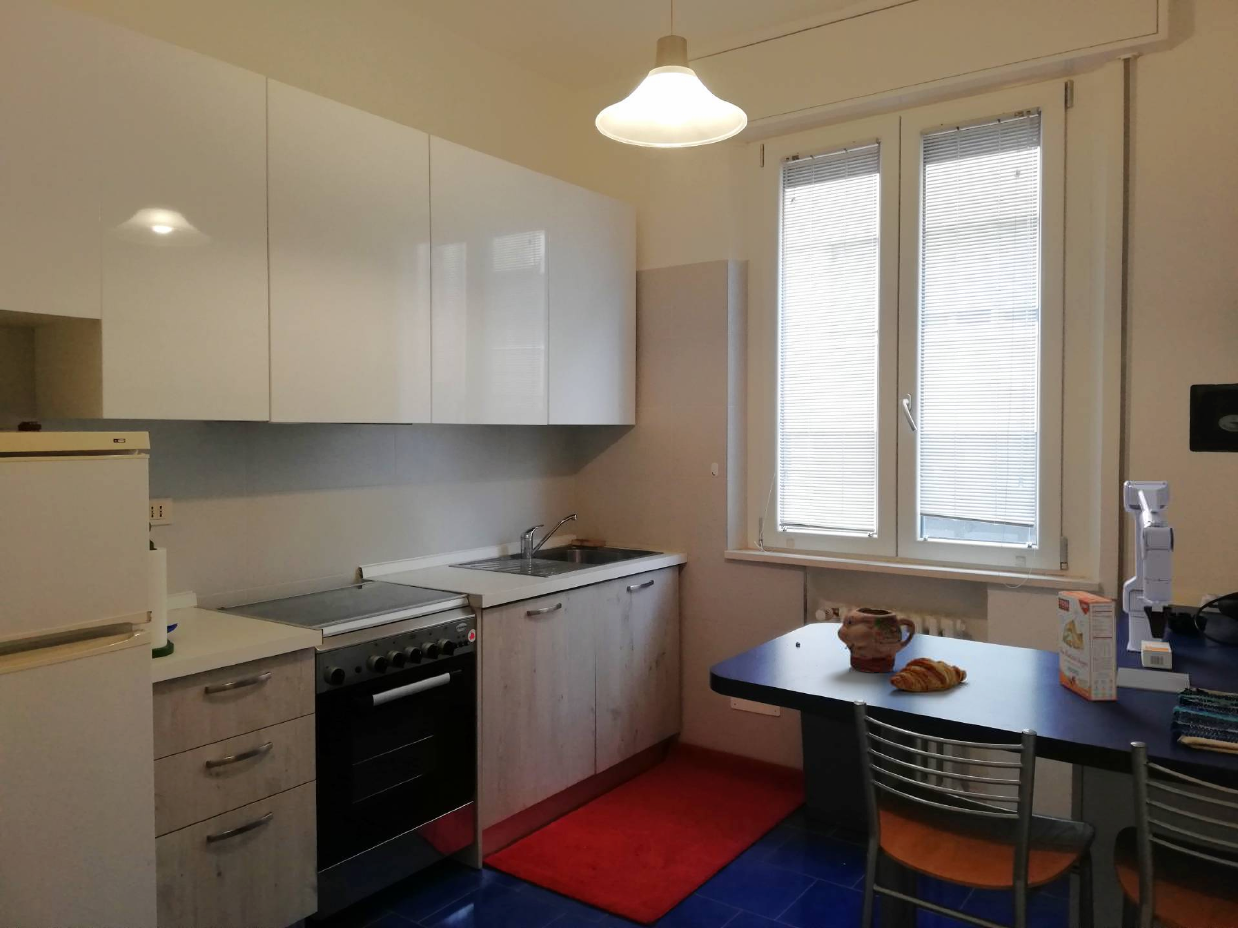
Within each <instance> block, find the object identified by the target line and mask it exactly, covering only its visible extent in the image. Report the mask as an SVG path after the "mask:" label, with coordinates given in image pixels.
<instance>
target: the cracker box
mask: <svg viewBox="0 0 1238 928" xmlns="http://www.w3.org/2000/svg"><path fill="white" fill-rule="evenodd" d="M1116 603H1117V602H1116V601H1114V600H1110V599H1107V598H1104V597H1101V596H1098V595H1095V594H1094V593H1093V594H1092V593H1090V592H1087V591H1085V590H1084V591H1083V590H1061V591H1058V643H1059V646H1058V649H1059V650H1058V652H1059V656H1058V657H1059V683H1060V685H1063V686H1064V687H1066V688H1068V689H1069V690H1071V691H1073V692H1074V693H1076V694H1078V695H1080V696H1081V697H1083V698H1085V699H1086V700H1088V701H1090V702H1100V701H1101V702H1103V701H1106V702H1107V701H1117V699H1118V697H1117V692H1118V690H1117V688H1118V687H1116V678H1117V623H1116V622H1117V621H1116V619H1117V618H1116V616H1117V610H1116V608H1117V606H1116Z"/></svg>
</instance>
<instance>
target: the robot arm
mask: <svg viewBox="0 0 1238 928" xmlns="http://www.w3.org/2000/svg"><path fill="white" fill-rule="evenodd" d="M1170 490H1171V489H1170V484H1169V482H1168V481H1167V480H1162V481H1157V480H1156V481H1152V480H1151V481H1149V480H1148V481H1144V480H1143V481H1141V480H1140V481H1134V480H1133V481H1130V480H1126V481H1125V482H1124V483H1123V508H1124V511H1125V512H1127V513H1129V514H1132V517H1133V520H1134V540H1135V541H1134V548H1135V549H1134V553H1135V554H1134V555H1135V557H1134V562H1135V563H1134V566H1135V569H1134V570H1135V571H1134V572H1135V575H1134V576H1133V577H1132V578H1130V579H1128V580H1126V581H1125V582H1124V584H1123V590H1122V609H1123V611H1124V612H1125V613H1126V614H1128V633H1129V634H1128V642H1127V647H1126V650H1127V651H1128V650H1129V651H1130V652H1141V643H1142V640H1144V641H1156V642H1163V641H1162V639H1163V640H1164V637H1165V632H1166V629H1167V623H1168V619H1169V618H1170V615H1171V613H1172V612H1173V607H1172V606H1169V605H1170V604H1173V603H1174V599H1173V553H1174V550H1175V547H1176V535H1175V531H1174V527H1173V526H1171V525H1169V520H1168V515H1167V514H1166V510H1167V508H1168V506H1169V504H1170V499H1171V497H1170V496H1171V491H1170ZM1129 651H1128V652H1129Z"/></svg>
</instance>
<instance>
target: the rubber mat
mask: <svg viewBox="0 0 1238 928" xmlns="http://www.w3.org/2000/svg"><path fill="white" fill-rule="evenodd" d="M1190 685H1191V684H1190V675H1189V673H1181V672H1180V673H1178V672H1169V671H1159V670H1147V669H1138V668H1129V667H1128V668H1127V667H1118V669H1117V672H1116V688H1124V689H1133V690H1143V691H1151V692H1160V693H1168V694H1169V693H1171V694H1179V695H1181V694H1180V693H1181V692H1183V691H1184V690H1185V688H1187V687H1190V688H1191V686H1190Z"/></svg>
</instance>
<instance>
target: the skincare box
mask: <svg viewBox="0 0 1238 928" xmlns="http://www.w3.org/2000/svg"><path fill="white" fill-rule="evenodd" d="M1140 654H1141V663H1142V667H1147V668H1154V669H1155V668H1157V669H1168V670H1172V667H1173V665H1172V663H1173V662H1172V660H1173V659H1172V649H1171V647H1170V643H1169V642H1165V641H1162V642H1156V641H1144V640H1142V643H1141V653H1140Z"/></svg>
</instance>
